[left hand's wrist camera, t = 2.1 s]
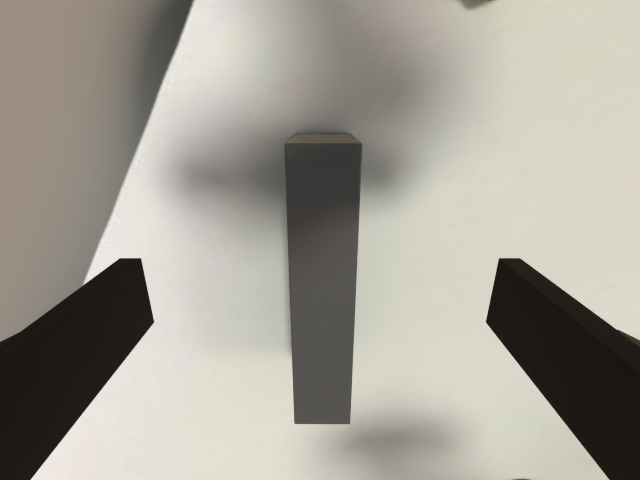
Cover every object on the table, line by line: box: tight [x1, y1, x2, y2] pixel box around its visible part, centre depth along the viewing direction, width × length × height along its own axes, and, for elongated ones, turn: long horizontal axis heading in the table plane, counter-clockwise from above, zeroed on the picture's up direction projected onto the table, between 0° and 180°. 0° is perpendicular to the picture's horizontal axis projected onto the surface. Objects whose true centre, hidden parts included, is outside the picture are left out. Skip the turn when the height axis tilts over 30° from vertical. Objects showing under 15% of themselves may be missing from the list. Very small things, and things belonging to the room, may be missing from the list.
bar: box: [285, 133, 362, 424], centre depth 29 cm, size 23×5×9 cm, turn 0°
